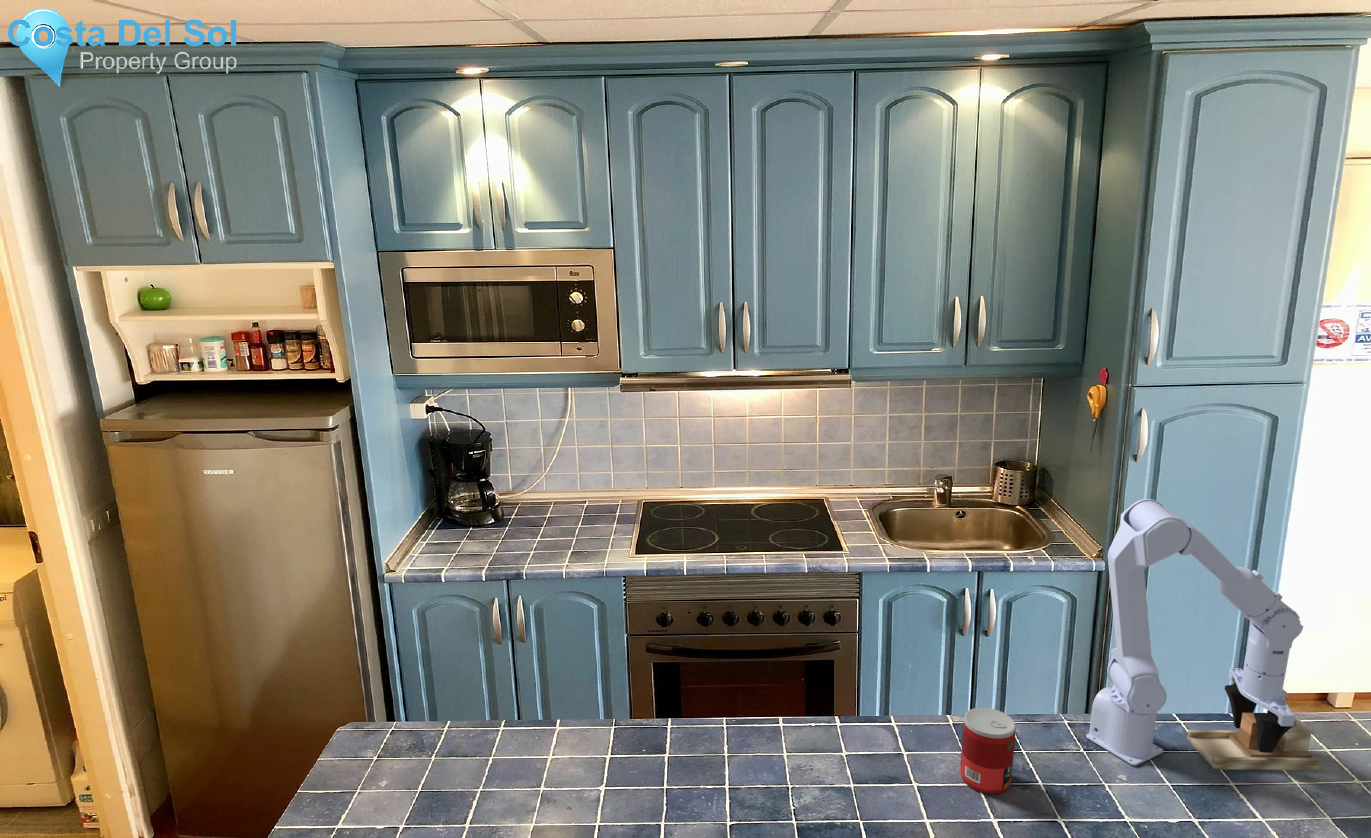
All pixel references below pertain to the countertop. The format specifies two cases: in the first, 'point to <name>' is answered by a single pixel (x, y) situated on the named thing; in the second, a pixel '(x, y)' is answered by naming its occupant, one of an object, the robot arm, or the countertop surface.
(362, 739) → the countertop surface
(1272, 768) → the rail bed
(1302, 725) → the cube
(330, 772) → the countertop surface
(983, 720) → the canned food
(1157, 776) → the countertop surface
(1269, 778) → the countertop surface
